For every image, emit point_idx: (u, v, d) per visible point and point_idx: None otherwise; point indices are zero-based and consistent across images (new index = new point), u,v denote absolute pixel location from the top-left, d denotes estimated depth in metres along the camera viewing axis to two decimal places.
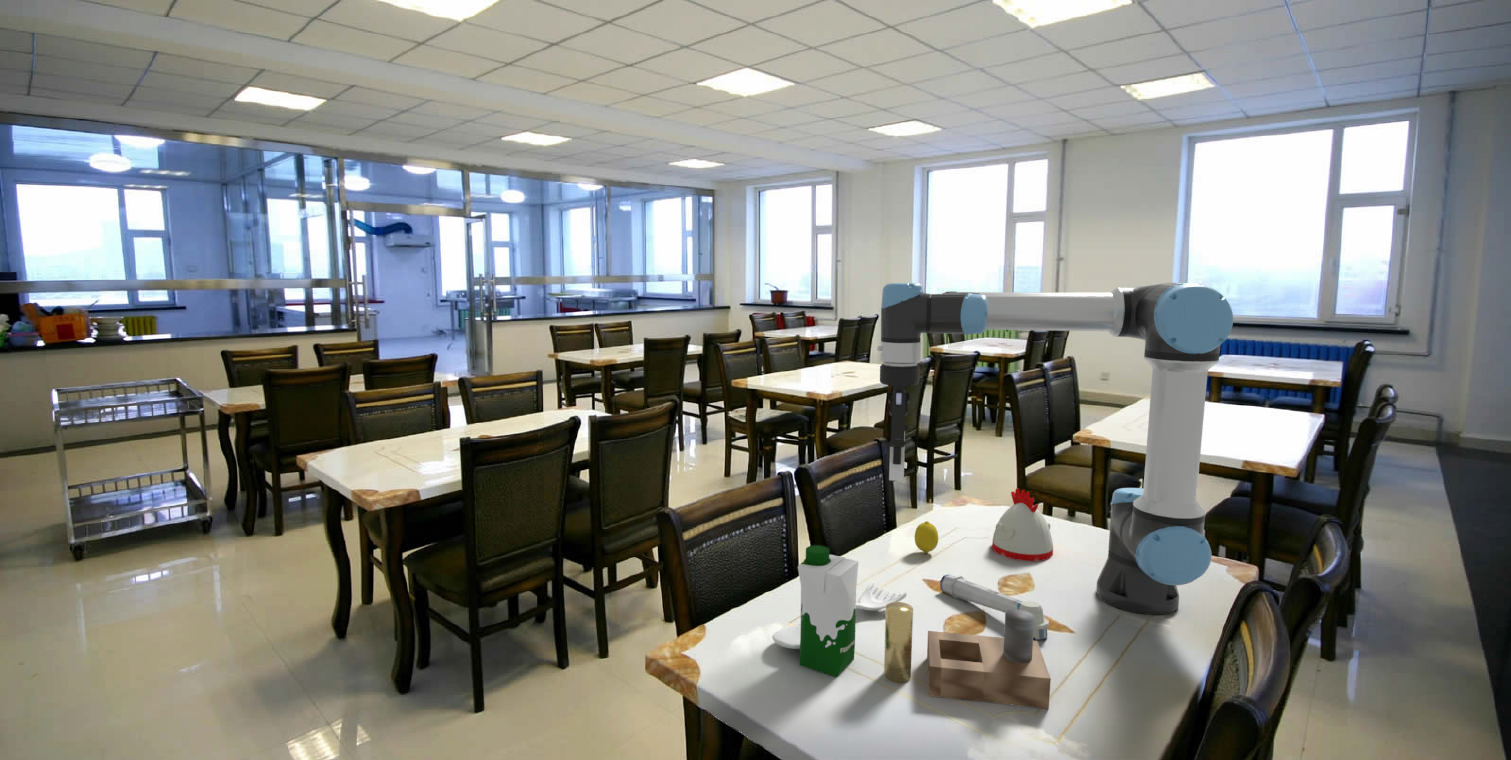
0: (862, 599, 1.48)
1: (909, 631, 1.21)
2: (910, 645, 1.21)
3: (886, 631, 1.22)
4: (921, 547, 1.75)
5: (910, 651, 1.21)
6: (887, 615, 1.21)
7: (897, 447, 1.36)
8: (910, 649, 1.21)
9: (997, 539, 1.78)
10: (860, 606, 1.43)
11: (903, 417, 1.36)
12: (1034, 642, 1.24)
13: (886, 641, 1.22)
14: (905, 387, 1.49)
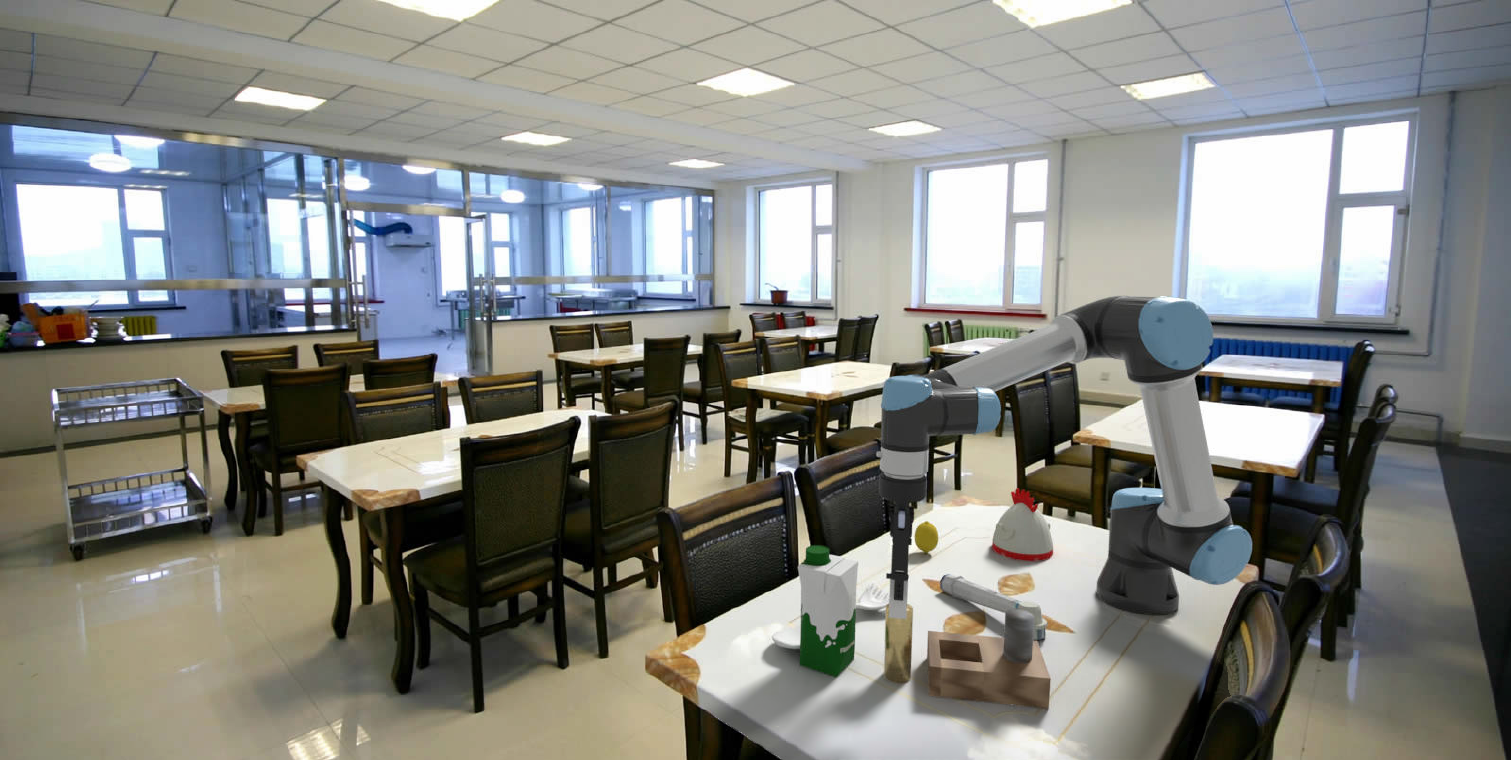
0: (862, 599, 1.48)
1: (909, 631, 1.21)
2: (910, 645, 1.21)
3: (886, 631, 1.22)
4: (921, 547, 1.75)
5: (910, 651, 1.21)
6: (887, 615, 1.21)
7: (899, 580, 1.12)
8: (910, 649, 1.21)
9: (997, 539, 1.78)
10: (860, 606, 1.43)
11: (907, 544, 1.12)
12: (1034, 642, 1.24)
13: (886, 641, 1.22)
14: None
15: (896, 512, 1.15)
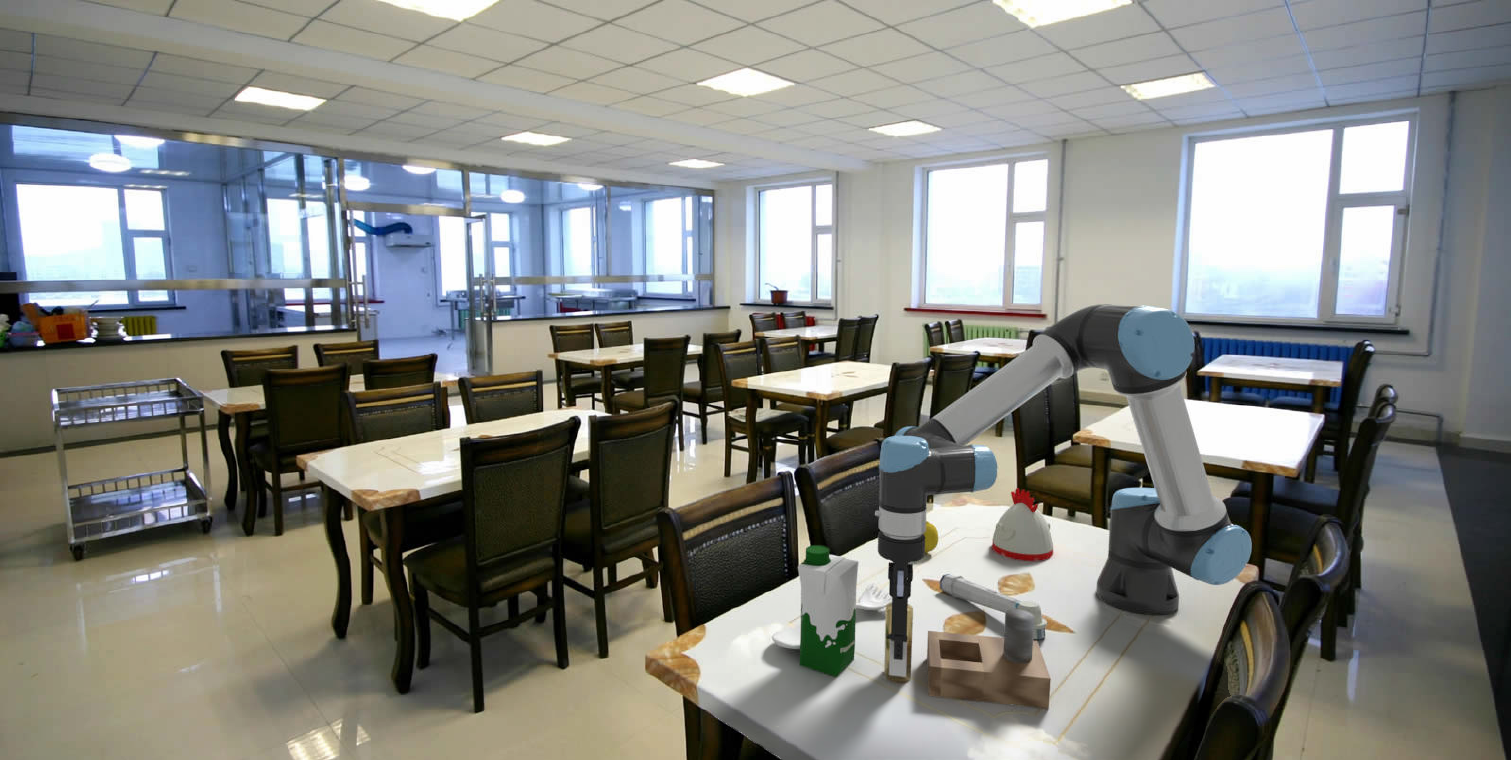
0: (862, 599, 1.48)
1: (910, 631, 1.21)
2: (910, 645, 1.21)
3: (886, 630, 1.22)
4: None
5: (910, 651, 1.21)
6: (887, 615, 1.21)
7: None
8: (910, 649, 1.21)
9: (997, 539, 1.78)
10: (860, 606, 1.43)
11: (905, 612, 1.15)
12: (1034, 642, 1.24)
13: (886, 641, 1.22)
14: None
15: (895, 575, 1.17)
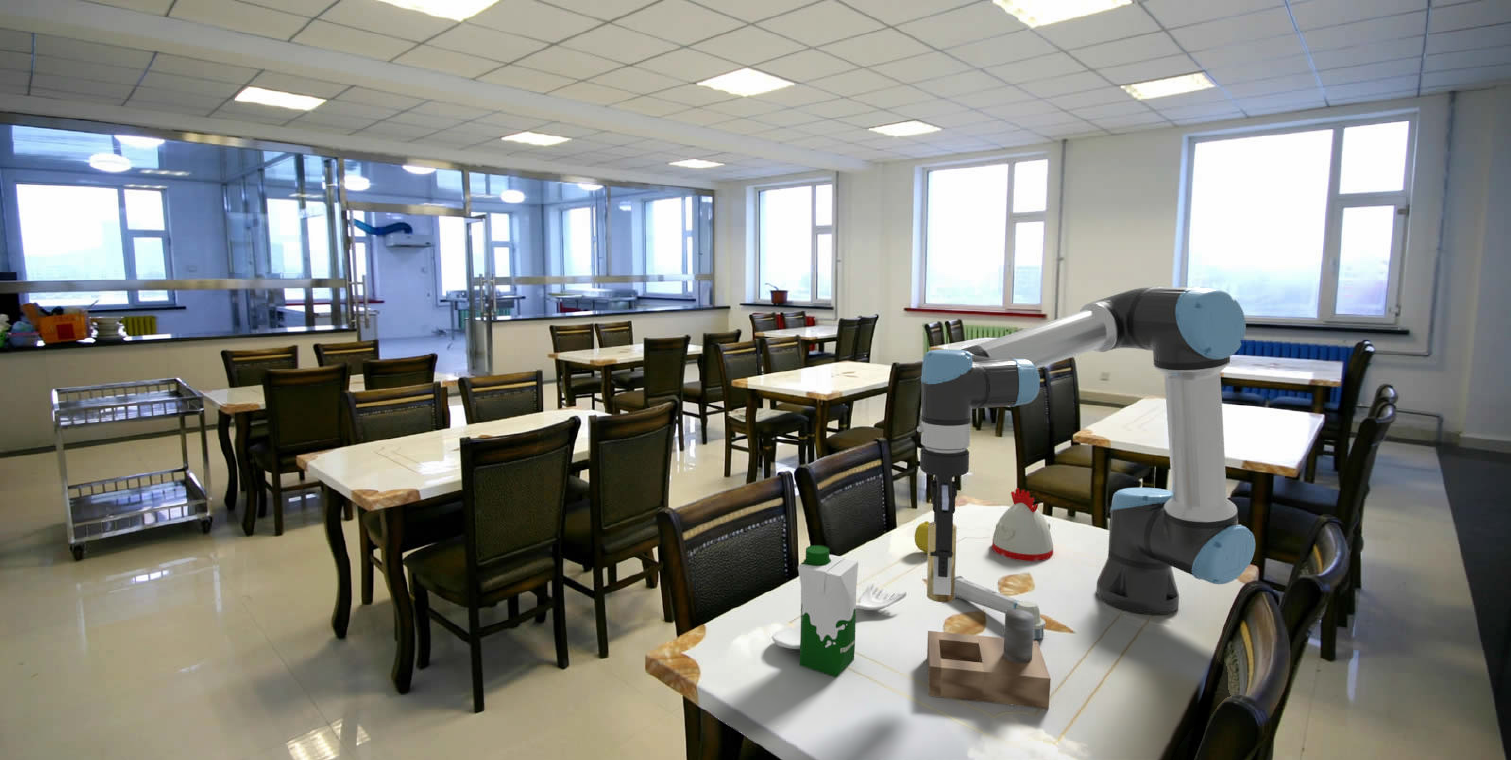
0: (862, 599, 1.48)
1: (953, 549, 1.18)
2: (954, 564, 1.19)
3: (929, 549, 1.19)
4: (921, 547, 1.75)
5: (954, 570, 1.19)
6: (930, 533, 1.19)
7: (943, 557, 1.16)
8: (954, 568, 1.19)
9: (997, 539, 1.78)
10: (860, 606, 1.43)
11: (951, 526, 1.13)
12: (1034, 642, 1.24)
13: (929, 560, 1.19)
14: None
15: (939, 490, 1.14)
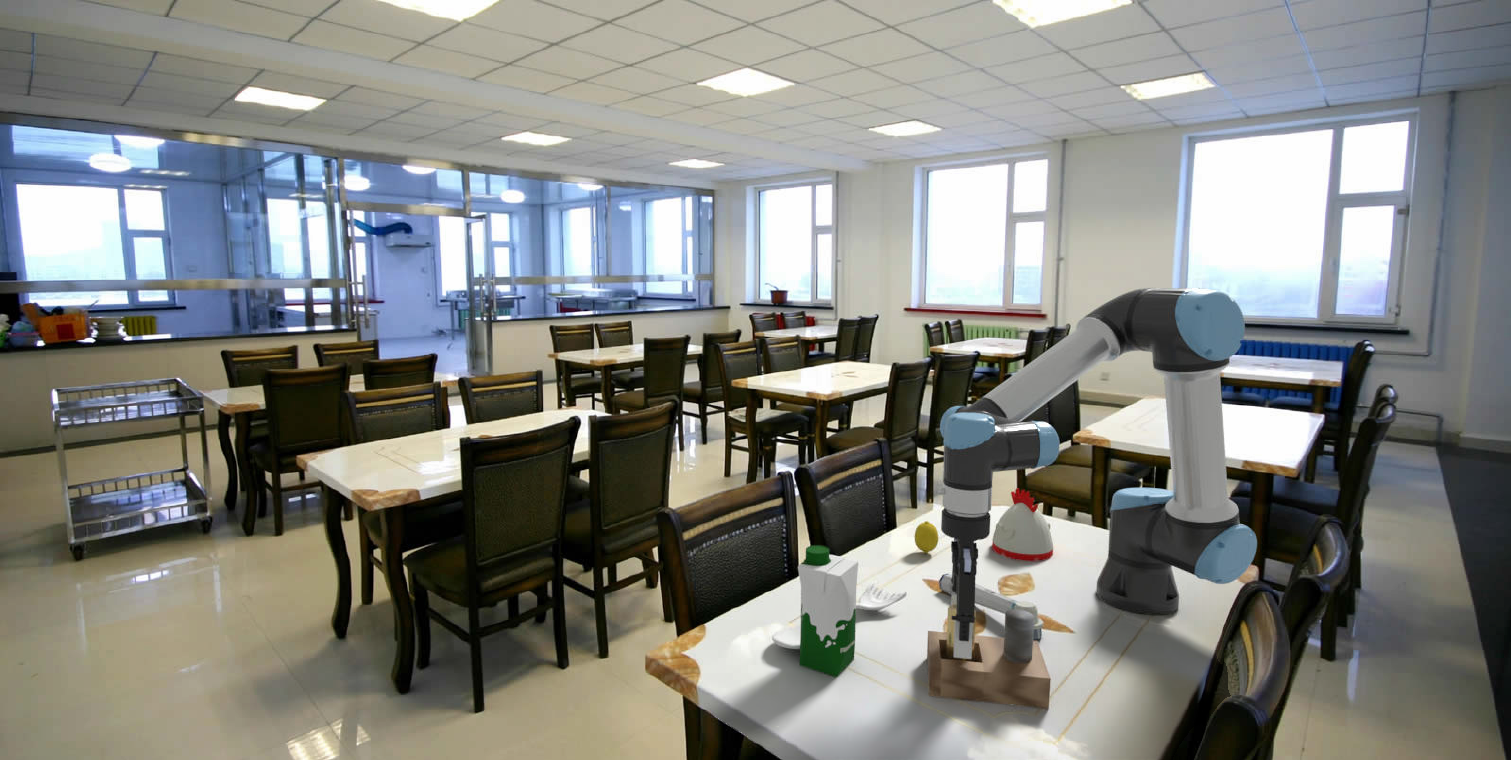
0: (862, 599, 1.48)
1: (973, 634, 1.20)
2: (973, 648, 1.20)
3: (949, 634, 1.21)
4: (921, 547, 1.75)
5: (973, 654, 1.20)
6: (950, 618, 1.20)
7: (965, 622, 1.15)
8: (973, 652, 1.20)
9: (997, 539, 1.78)
10: (860, 606, 1.43)
11: (973, 589, 1.13)
12: (1034, 642, 1.24)
13: (948, 644, 1.21)
14: None
15: (961, 552, 1.15)
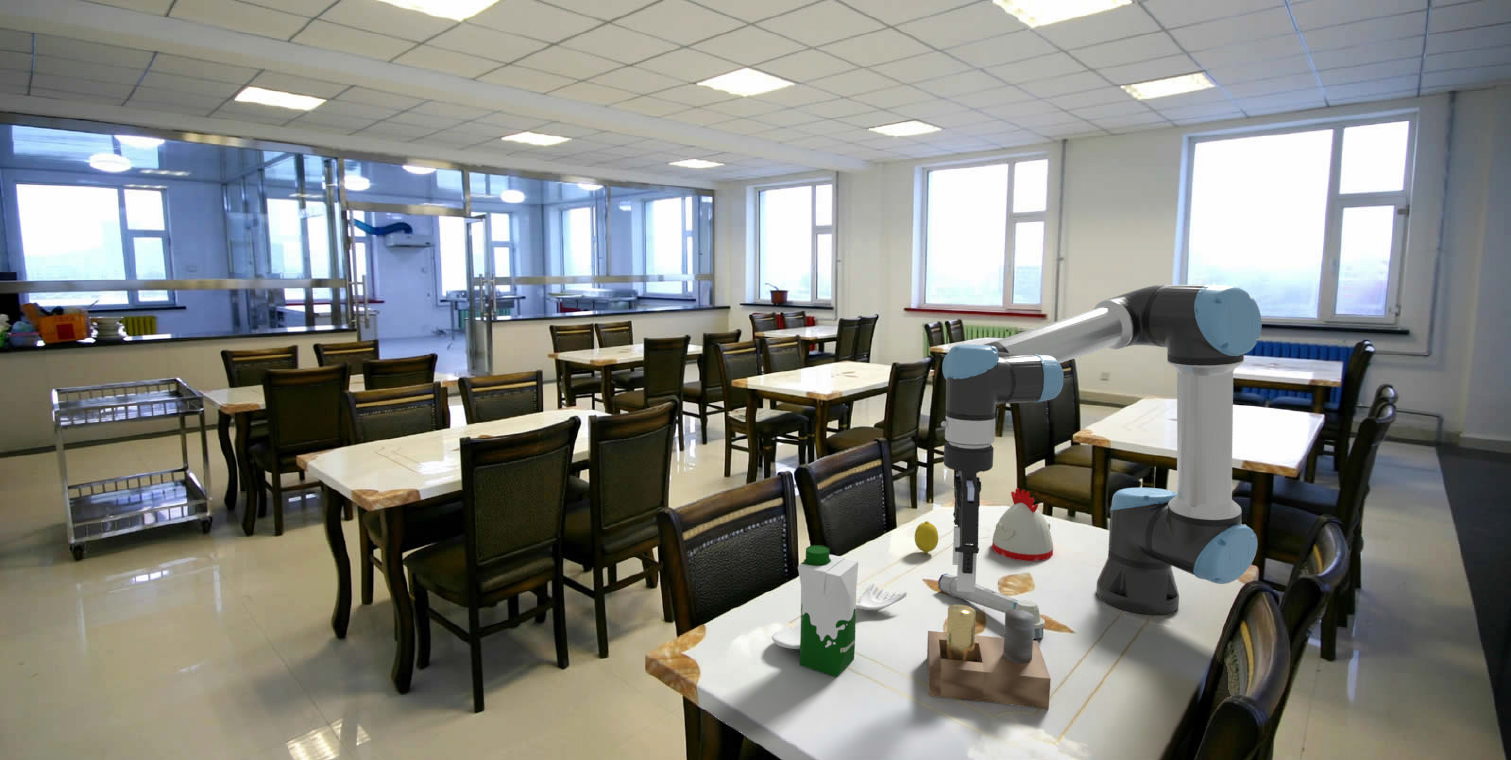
0: (862, 599, 1.48)
1: (973, 634, 1.20)
2: (973, 648, 1.20)
3: (949, 634, 1.21)
4: (921, 547, 1.75)
5: (973, 654, 1.20)
6: (950, 618, 1.20)
7: (968, 553, 1.12)
8: (973, 652, 1.20)
9: (997, 539, 1.78)
10: (860, 606, 1.43)
11: (976, 518, 1.11)
12: (1034, 642, 1.24)
13: (948, 644, 1.21)
14: None
15: (964, 483, 1.14)
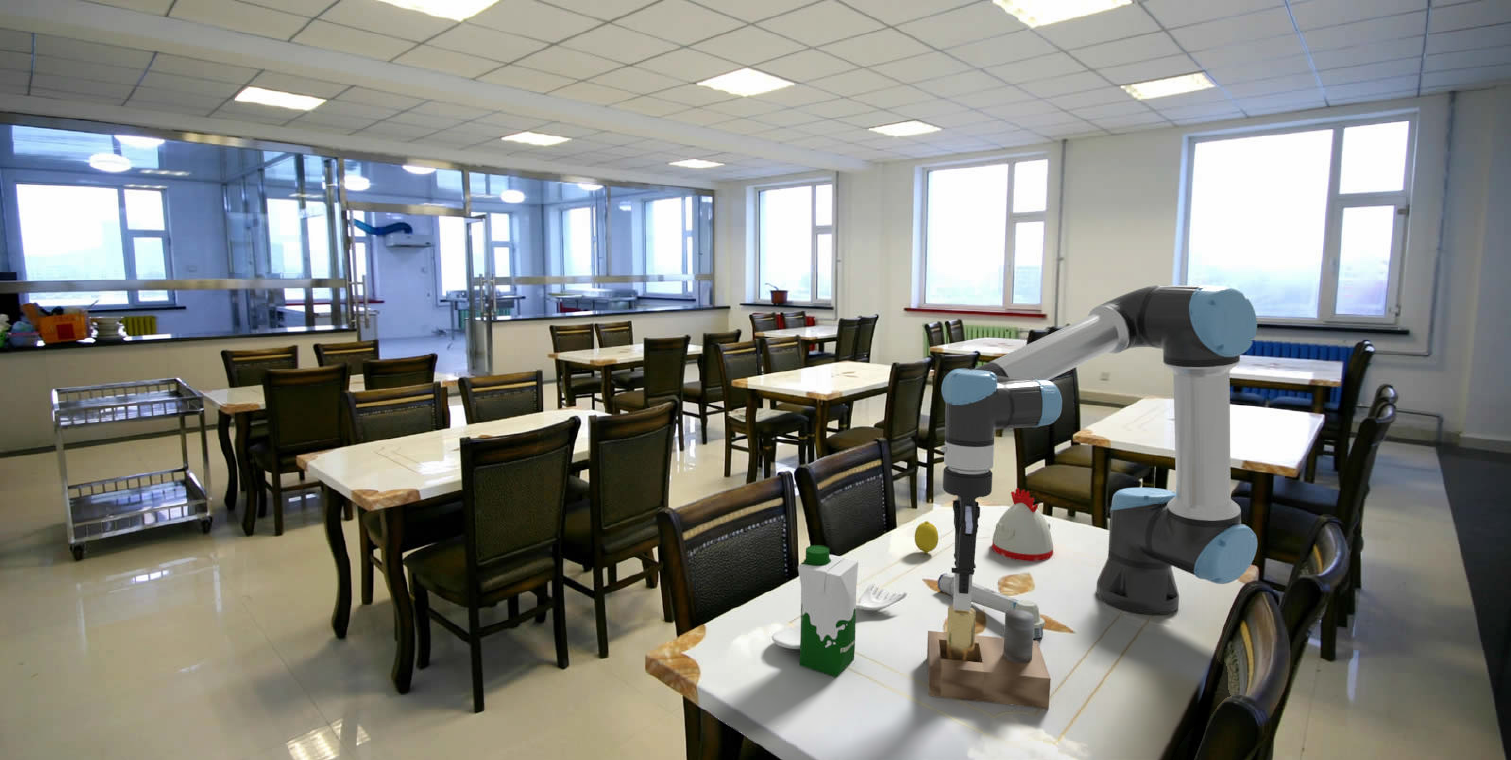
0: (862, 599, 1.48)
1: (973, 634, 1.20)
2: (973, 648, 1.20)
3: (949, 634, 1.21)
4: (921, 547, 1.75)
5: (973, 654, 1.20)
6: (950, 618, 1.20)
7: (964, 574, 1.18)
8: (973, 652, 1.20)
9: (997, 539, 1.78)
10: (860, 606, 1.43)
11: (973, 548, 1.14)
12: (1034, 642, 1.24)
13: (948, 644, 1.21)
14: None
15: (963, 512, 1.14)
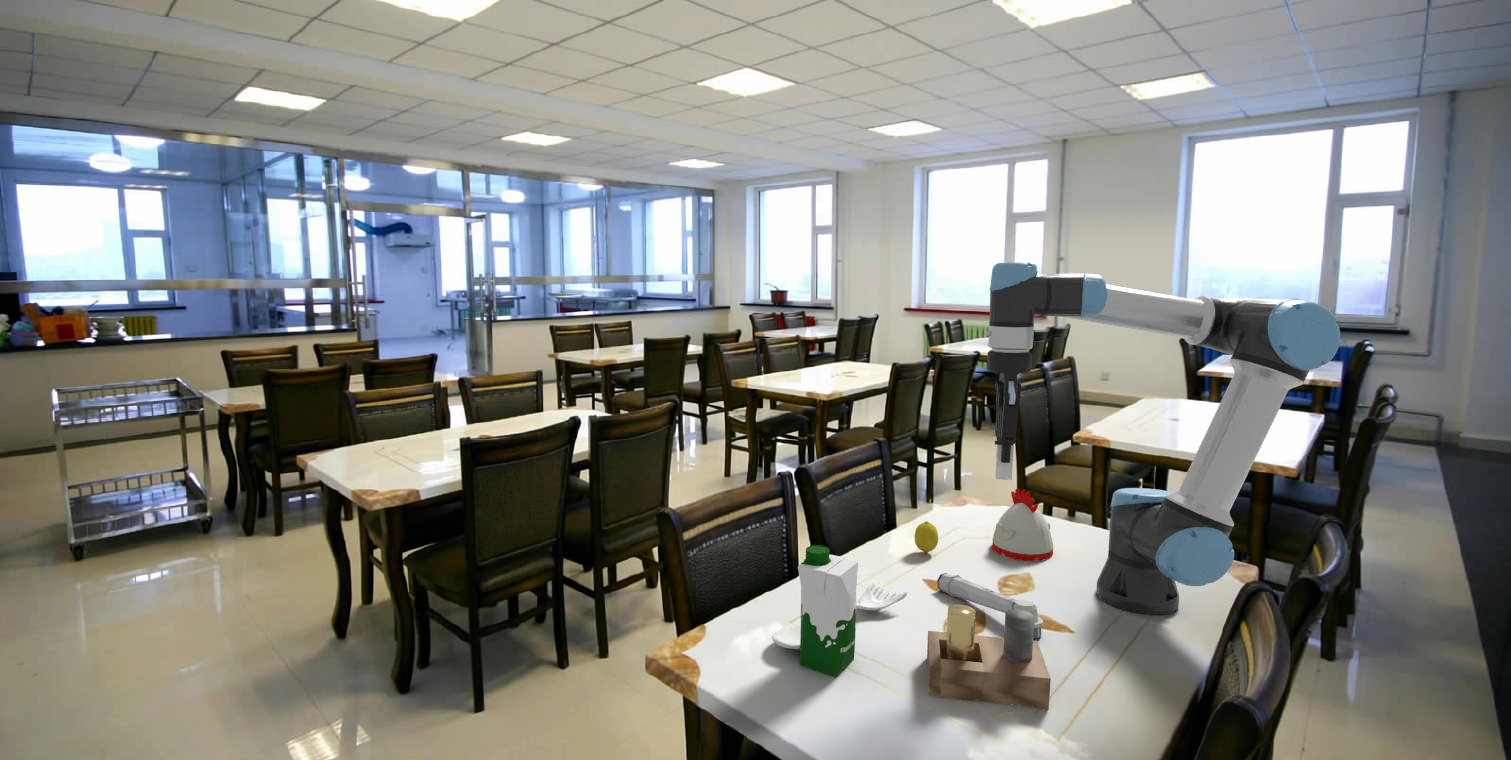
0: (862, 599, 1.48)
1: (973, 634, 1.20)
2: (973, 648, 1.20)
3: (949, 633, 1.21)
4: (921, 547, 1.75)
5: (973, 654, 1.20)
6: (949, 618, 1.20)
7: (1007, 445, 1.32)
8: (973, 652, 1.20)
9: (997, 539, 1.78)
10: (860, 606, 1.43)
11: (1016, 418, 1.29)
12: (1034, 642, 1.24)
13: (948, 644, 1.21)
14: None
15: (1006, 386, 1.29)
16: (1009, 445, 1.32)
